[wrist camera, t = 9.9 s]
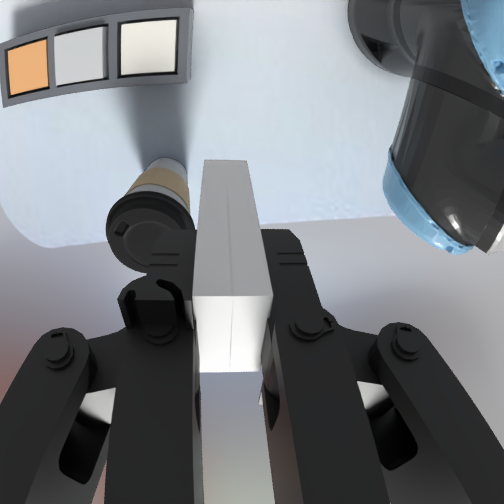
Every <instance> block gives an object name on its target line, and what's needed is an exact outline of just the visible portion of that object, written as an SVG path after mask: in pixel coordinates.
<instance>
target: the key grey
mask: <svg viewBox="0 0 504 504" xmlns="http://www.w3.org/2000/svg"><path fill="white" fill-rule="evenodd" d="M54 54H55V77H56V85H62V84H67V83H73V82H79V81H85V80H92V79H99V78H104V77H107V76H109V71H108V27H98V28H93V29H87V30H82V31H77V32H73V33H68V34H64V35H60V36H56V37H54Z"/></svg>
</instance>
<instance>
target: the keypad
mask: <svg viewBox="0 0 504 504" xmlns="http://www.w3.org/2000/svg"><path fill="white" fill-rule="evenodd" d="M193 13H194V11H193V10H192V9H191V8H190V7H187V8H166V9H153V10H142V11H133V12H125V13H118V14H111V15H105V16H99V17H94V18H89V19H84V20H79V21H74V22H70V23H66V24H62V25H58V26H54V27H50V28H46V29H43V30H39V31H36V32H33V33H30V34H26V35H23V36H20V37H17V38H14V39H11V40H9V41H6V42H3V43H1V44H0V83H1V94H2V102H3V108H4V107H8V106H12V105H16V104H20V103H25V102H29V101H34V100H38V99H43V98H48V97H54V96H59V95H65V94H71V93H77V92H84V91H91V90H99V89H107V88H116V87H127V86H139V85H155V84H179V83H187V82H188V81H189V80H190V76H191V50H192V30H193ZM165 20H178V21H179V25H178V47H177V70H175V71H168V72H150V73H136V74H125V75H121V27H122V25H123V24H131V23H140V22H151V21H165ZM98 27H108V71H109V76H107V77H104V78H99V79H92V80H85V81H79V82H73V83H67V84H62V85H56V77H55V54H54V37H56V36H60V35H64V34H68V33H73V32H77V31H82V30H87V29H93V28H98ZM47 39H48V67H49V83H50V86H47V87H42V88H37V89H33V90H29V91H25V92H21V93H17V94H13V95H11V91H10V79H9V65H8V51H10V50H13V49H16V48H19V47H22V46H25V45H29V44H32V43H36V42H39V41H43V40H47Z"/></svg>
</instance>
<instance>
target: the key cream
mask: <svg viewBox="0 0 504 504" xmlns="http://www.w3.org/2000/svg"><path fill="white" fill-rule="evenodd" d="M178 25H179V21H178V20H165V21H151V22H140V23H131V24H123V25H122V27H121V75H125V74H136V73H150V72H168V71H175V70H177V47H178Z"/></svg>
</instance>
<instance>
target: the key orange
mask: <svg viewBox="0 0 504 504" xmlns="http://www.w3.org/2000/svg"><path fill="white" fill-rule="evenodd" d="M8 65H9V79H10V91H11V95H13V94H17V93H21V92H25V91H29V90H33V89H37V88H42V87H47V86H50V83H49V67H48V39H47V40H43V41H39V42H36V43H32V44H29V45H25V46H22V47H19V48H16V49H13V50H10V51H8Z"/></svg>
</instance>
